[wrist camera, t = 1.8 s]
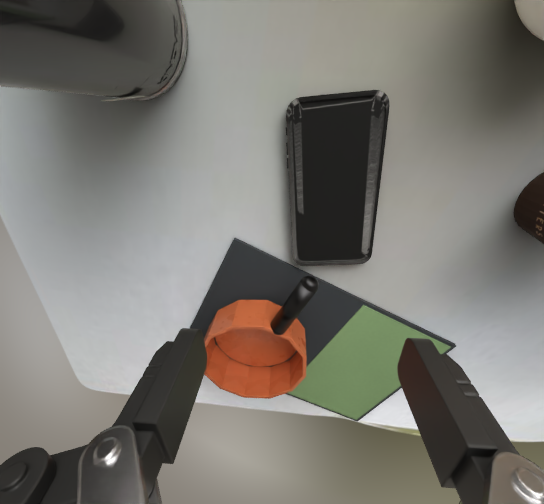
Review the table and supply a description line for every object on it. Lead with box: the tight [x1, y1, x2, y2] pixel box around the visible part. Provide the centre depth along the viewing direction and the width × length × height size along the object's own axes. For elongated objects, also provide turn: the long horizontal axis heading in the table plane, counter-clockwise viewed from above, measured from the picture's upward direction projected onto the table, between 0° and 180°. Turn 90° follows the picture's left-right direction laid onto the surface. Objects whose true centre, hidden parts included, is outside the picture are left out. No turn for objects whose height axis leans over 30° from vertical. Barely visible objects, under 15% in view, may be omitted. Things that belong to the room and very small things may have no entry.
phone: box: [286, 90, 389, 266], centre depth 23 cm, size 8×1×15 cm
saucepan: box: [204, 276, 319, 398], centre depth 29 cm, size 12×19×4 cm, turn 153°
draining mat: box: [190, 238, 456, 421], centre depth 34 cm, size 30×20×1 cm, turn 63°
